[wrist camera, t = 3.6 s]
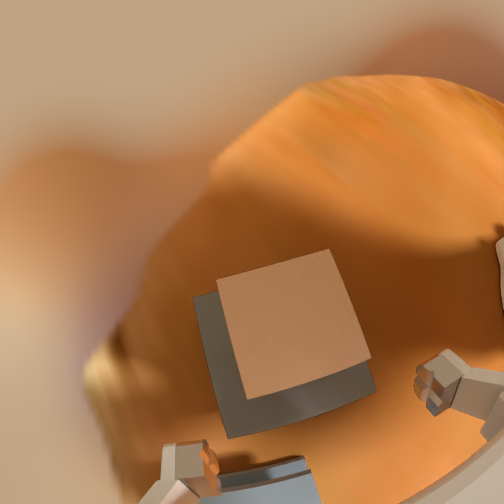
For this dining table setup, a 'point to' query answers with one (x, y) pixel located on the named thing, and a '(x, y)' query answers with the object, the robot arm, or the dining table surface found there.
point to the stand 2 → (268, 485)
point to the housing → (291, 323)
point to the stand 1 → (275, 404)
